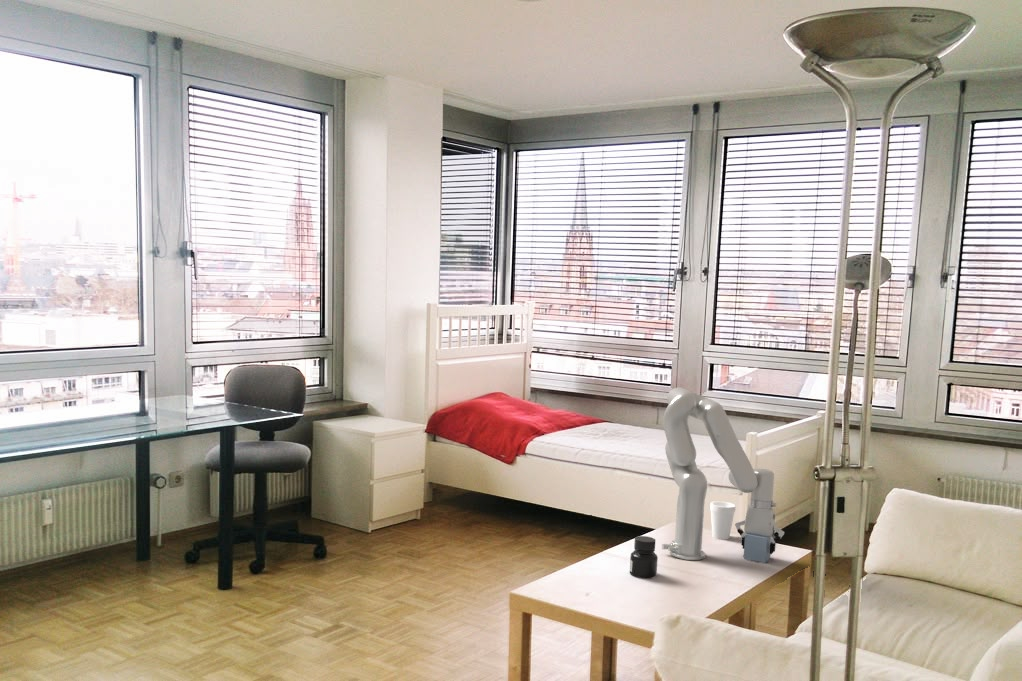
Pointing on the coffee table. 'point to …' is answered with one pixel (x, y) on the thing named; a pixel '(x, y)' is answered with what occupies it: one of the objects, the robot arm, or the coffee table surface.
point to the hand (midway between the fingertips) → (757, 550)
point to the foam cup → (721, 519)
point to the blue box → (756, 547)
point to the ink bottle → (643, 558)
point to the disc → (759, 561)
